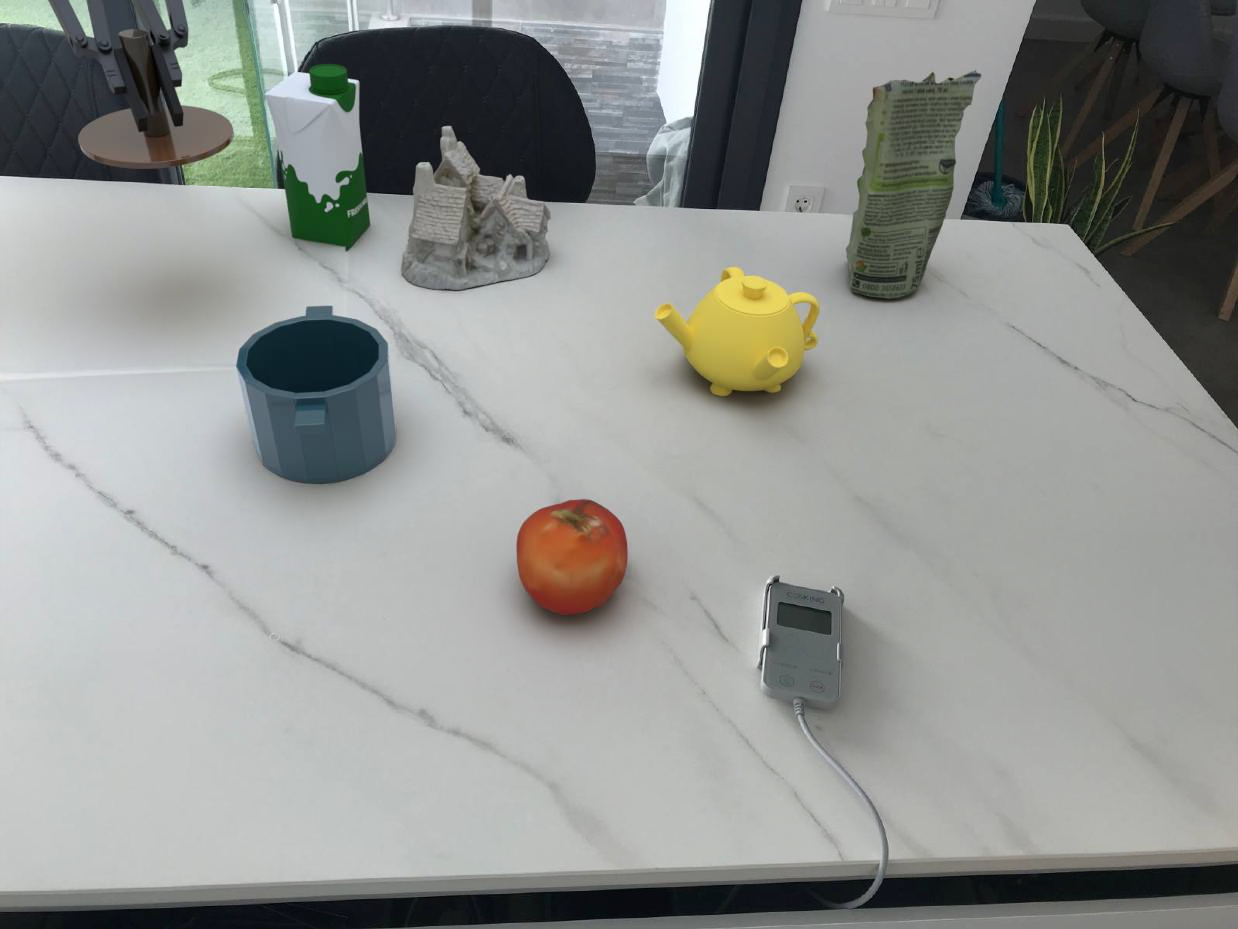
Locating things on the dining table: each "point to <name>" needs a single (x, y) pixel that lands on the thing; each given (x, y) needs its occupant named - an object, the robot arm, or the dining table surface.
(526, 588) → the tomato
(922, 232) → the pouch
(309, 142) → the milk carton
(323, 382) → the pot
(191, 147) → the lid
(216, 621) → the dining table surface
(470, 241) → the ceramic cottage
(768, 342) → the teapot
